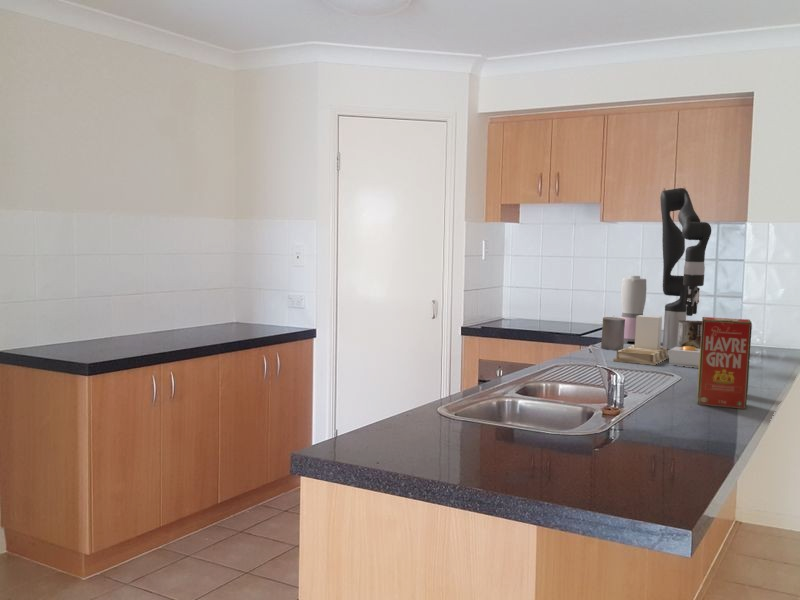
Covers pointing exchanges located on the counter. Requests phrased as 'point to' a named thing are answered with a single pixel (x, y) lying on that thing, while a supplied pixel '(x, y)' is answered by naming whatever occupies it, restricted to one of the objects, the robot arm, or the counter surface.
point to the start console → (684, 357)
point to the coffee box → (689, 333)
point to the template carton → (648, 332)
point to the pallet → (641, 355)
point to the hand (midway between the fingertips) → (691, 314)
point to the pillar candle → (613, 333)
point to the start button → (689, 348)
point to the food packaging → (724, 362)
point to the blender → (632, 304)
